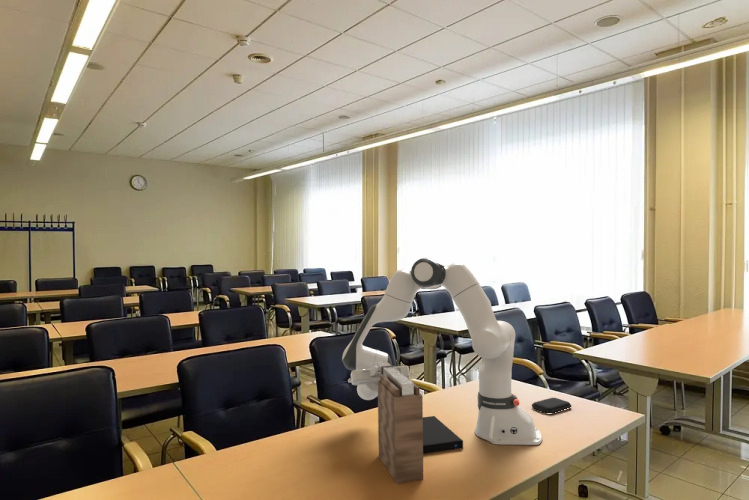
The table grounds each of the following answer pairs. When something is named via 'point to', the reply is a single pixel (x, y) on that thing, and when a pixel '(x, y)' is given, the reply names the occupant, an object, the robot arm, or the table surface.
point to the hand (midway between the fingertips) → (385, 368)
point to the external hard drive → (438, 436)
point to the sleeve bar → (396, 378)
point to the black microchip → (551, 405)
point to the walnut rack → (400, 432)
